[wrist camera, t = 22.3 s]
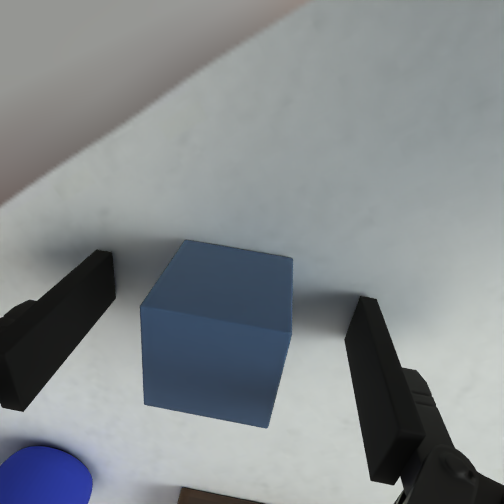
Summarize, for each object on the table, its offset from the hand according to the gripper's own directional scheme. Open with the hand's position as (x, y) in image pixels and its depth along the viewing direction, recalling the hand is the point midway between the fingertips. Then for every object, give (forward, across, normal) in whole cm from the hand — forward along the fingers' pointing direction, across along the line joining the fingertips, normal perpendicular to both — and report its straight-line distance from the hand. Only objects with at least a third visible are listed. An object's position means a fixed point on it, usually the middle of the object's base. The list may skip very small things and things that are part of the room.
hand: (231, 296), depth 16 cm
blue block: (0, 0, 0) cm, 0 cm away
